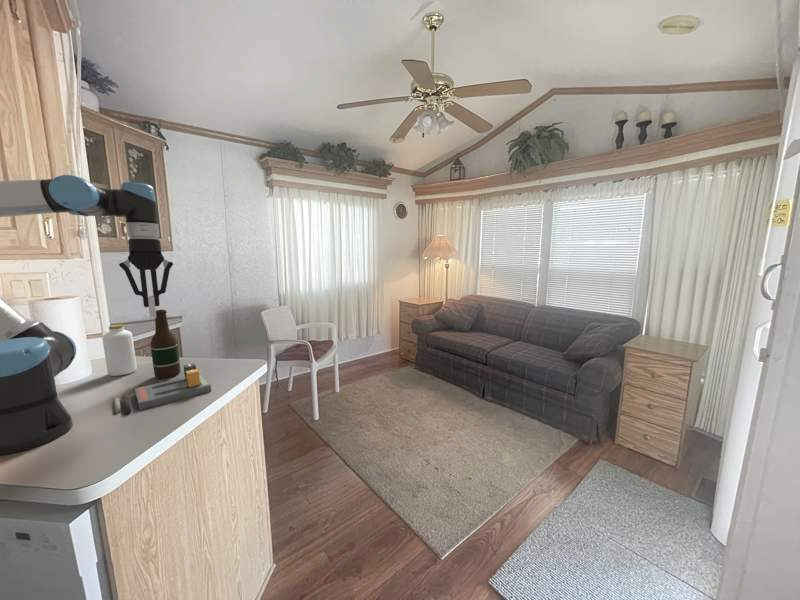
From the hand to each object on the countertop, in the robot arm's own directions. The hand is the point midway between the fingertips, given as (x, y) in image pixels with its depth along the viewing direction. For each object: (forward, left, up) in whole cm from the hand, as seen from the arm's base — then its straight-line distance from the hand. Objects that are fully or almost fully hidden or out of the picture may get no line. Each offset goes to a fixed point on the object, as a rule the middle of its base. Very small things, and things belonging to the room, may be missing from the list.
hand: (153, 317), depth 99 cm
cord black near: (-9, -4, -24) cm, 26 cm away
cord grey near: (-11, -2, -24) cm, 27 cm away
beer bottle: (+4, +18, -25) cm, 31 cm away
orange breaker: (+8, -5, -22) cm, 24 cm away
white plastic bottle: (-8, +33, -25) cm, 42 cm away
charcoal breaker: (+8, +2, -22) cm, 24 cm away
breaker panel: (+3, -2, -24) cm, 25 cm away
